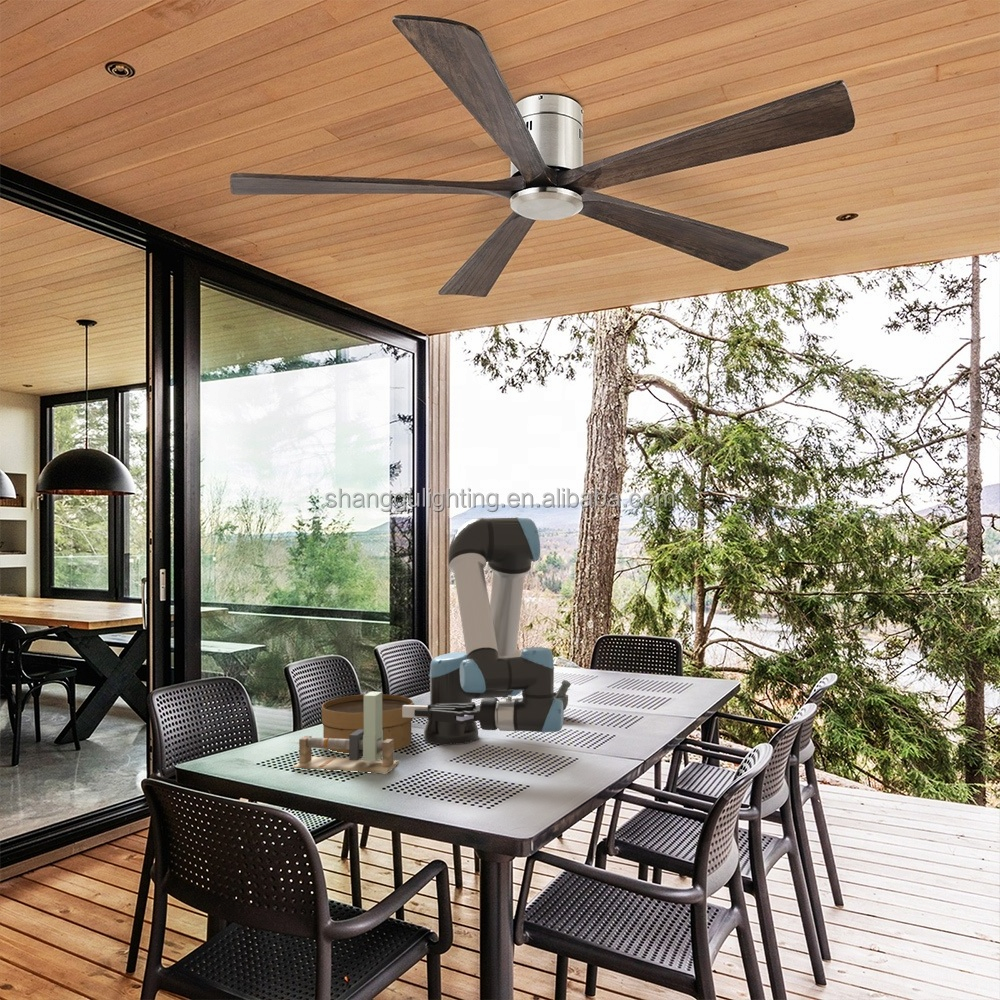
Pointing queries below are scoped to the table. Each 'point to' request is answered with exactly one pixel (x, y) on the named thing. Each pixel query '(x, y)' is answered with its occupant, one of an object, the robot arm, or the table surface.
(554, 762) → the table surface
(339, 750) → the steamer basket
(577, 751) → the table surface
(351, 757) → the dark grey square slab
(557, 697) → the mortar and pestle
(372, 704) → the pale green upright panel
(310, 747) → the pipe stand
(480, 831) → the table surface
